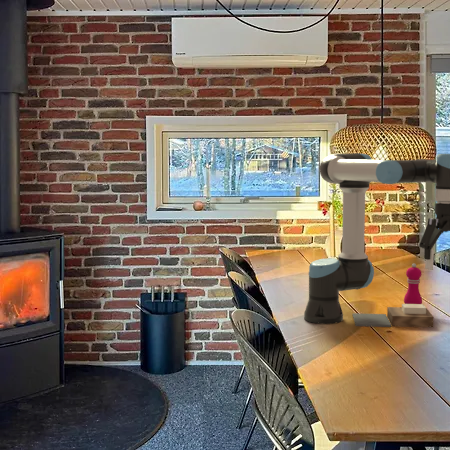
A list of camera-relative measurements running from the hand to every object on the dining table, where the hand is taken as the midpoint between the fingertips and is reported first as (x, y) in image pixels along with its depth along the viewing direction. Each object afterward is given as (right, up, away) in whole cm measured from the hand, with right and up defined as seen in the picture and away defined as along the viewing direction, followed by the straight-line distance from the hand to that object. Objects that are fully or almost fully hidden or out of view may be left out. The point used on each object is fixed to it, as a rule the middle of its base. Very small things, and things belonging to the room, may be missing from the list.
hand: (445, 267), depth 194 cm
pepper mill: (+6, -22, +52) cm, 57 cm away
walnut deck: (0, -24, +37) cm, 44 cm away
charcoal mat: (-15, -24, +39) cm, 48 cm away
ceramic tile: (+1, -20, +36) cm, 41 cm away
